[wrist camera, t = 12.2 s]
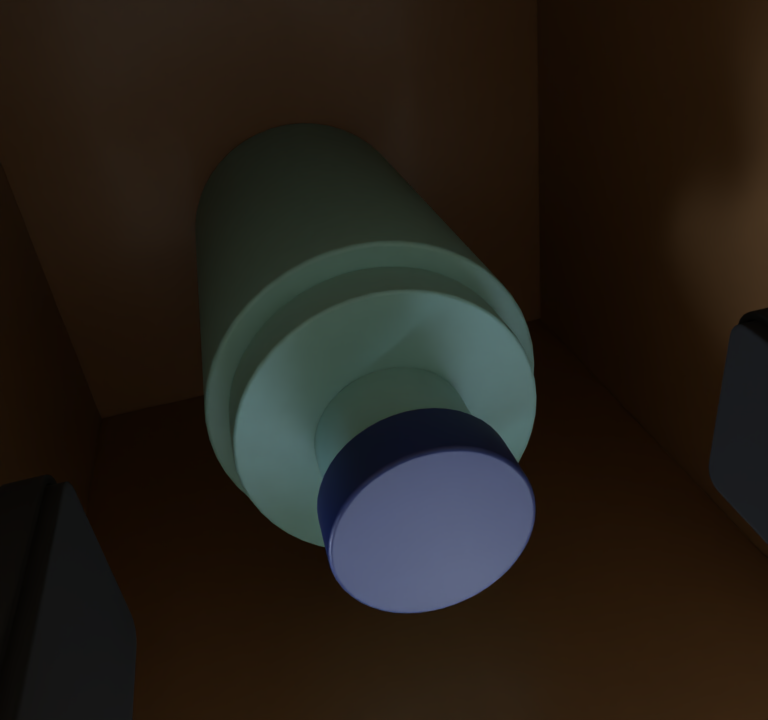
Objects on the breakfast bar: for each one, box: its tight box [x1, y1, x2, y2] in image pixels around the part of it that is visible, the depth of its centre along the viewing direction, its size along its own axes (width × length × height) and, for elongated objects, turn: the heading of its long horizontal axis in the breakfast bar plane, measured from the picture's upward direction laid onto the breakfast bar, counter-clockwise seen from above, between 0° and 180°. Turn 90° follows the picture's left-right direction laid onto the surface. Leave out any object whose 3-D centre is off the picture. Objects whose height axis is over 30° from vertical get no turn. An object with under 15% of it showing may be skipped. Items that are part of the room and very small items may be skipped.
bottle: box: [195, 123, 536, 613], centre depth 15 cm, size 6×6×12 cm
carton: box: [0, 0, 768, 720], centre depth 14 cm, size 14×15×14 cm
